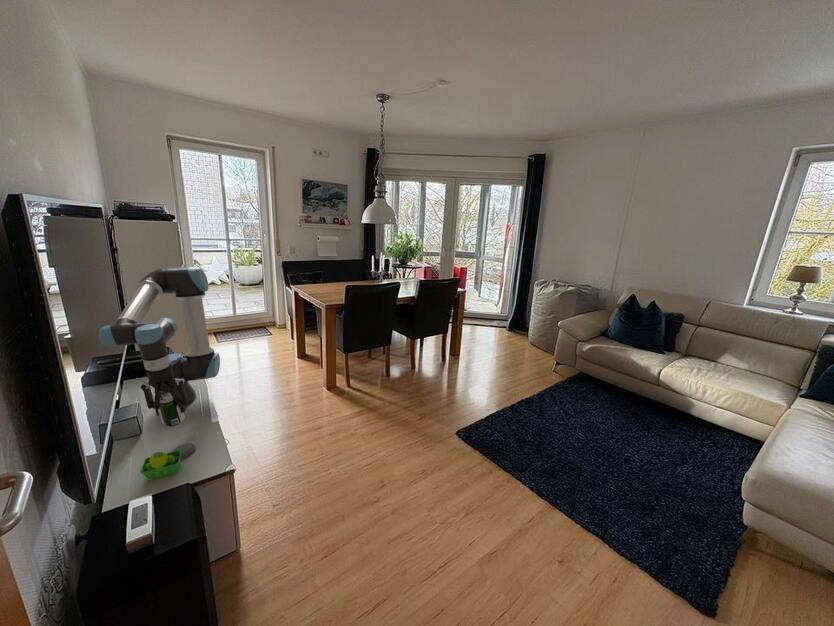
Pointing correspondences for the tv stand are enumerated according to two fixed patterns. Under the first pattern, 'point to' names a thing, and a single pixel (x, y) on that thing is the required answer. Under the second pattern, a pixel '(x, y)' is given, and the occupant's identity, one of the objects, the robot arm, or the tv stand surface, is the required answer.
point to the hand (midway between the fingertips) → (173, 420)
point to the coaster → (185, 450)
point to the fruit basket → (161, 464)
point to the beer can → (169, 410)
